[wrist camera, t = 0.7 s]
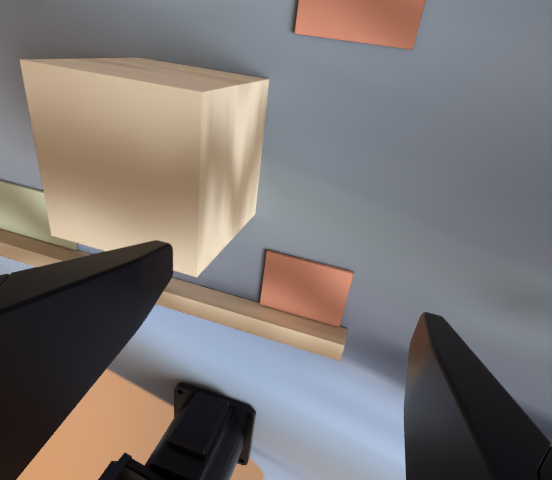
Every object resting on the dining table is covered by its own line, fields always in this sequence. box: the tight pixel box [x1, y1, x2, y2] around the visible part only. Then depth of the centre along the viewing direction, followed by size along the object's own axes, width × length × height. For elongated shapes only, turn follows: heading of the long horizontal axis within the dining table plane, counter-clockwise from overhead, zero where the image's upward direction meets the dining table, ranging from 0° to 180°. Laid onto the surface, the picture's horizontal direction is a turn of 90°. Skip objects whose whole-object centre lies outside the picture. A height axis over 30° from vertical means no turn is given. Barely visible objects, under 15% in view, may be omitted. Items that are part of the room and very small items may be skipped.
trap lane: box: [0, 0, 425, 361], centre depth 21 cm, size 21×32×2 cm, turn 83°
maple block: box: [20, 58, 269, 277], centre depth 17 cm, size 7×7×7 cm
